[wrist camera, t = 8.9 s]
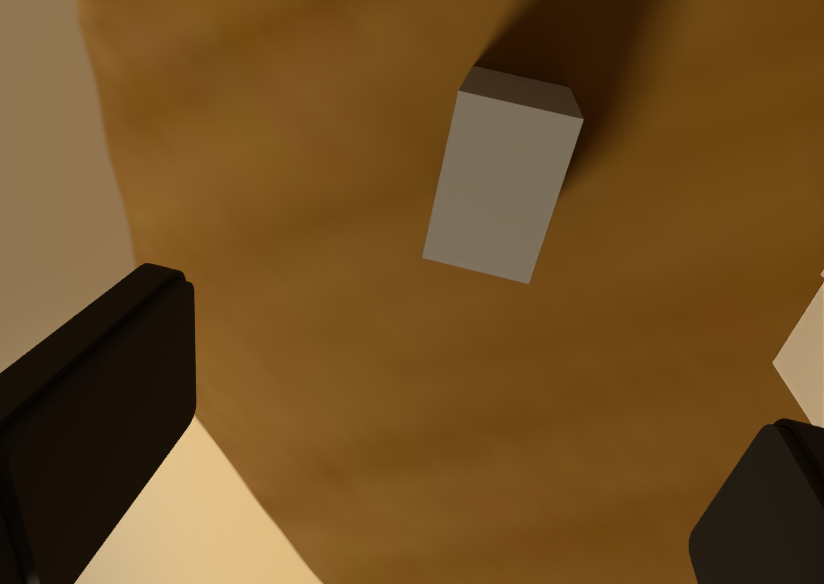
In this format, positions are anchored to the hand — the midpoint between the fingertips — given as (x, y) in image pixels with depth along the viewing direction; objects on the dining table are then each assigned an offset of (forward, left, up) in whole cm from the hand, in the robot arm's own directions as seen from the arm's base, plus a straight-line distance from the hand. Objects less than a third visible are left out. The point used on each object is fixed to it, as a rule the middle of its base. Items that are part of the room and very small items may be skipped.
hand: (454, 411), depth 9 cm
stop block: (0, 0, -17) cm, 17 cm away
